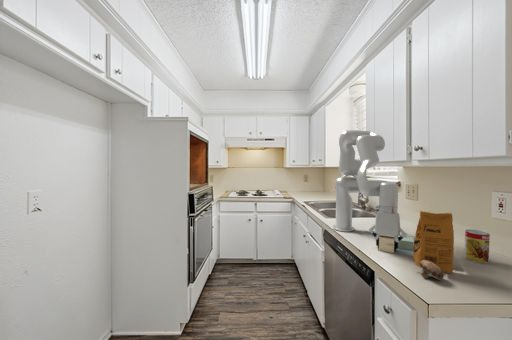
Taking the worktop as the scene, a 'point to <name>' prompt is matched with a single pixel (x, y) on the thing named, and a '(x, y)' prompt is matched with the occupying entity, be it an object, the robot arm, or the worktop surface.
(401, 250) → the building board
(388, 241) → the maple cube
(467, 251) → the canned food
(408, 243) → the sage slab
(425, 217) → the coffee package
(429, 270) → the mushroom
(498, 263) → the worktop surface
